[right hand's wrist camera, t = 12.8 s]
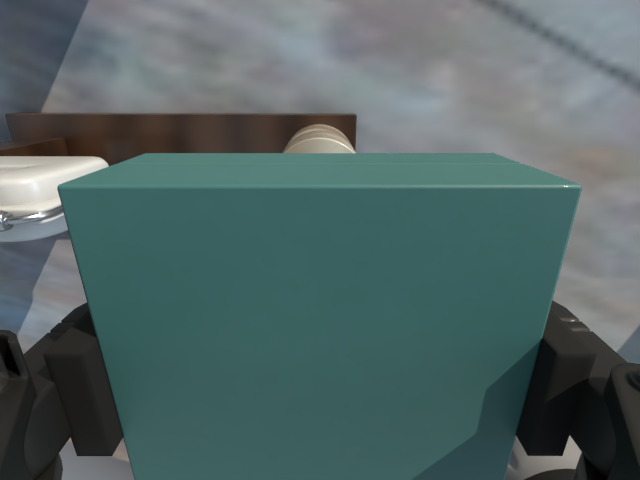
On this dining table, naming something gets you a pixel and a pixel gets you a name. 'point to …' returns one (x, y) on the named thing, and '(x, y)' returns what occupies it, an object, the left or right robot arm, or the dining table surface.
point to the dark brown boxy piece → (176, 134)
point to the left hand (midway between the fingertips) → (24, 167)
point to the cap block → (319, 309)
